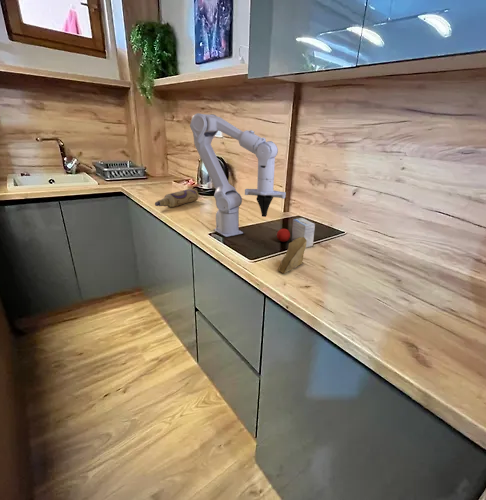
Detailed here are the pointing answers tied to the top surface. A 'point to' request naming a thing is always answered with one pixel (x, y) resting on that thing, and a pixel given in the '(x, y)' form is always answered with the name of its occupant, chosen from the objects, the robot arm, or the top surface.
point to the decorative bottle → (178, 198)
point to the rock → (293, 255)
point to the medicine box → (303, 230)
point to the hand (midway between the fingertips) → (264, 215)
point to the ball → (283, 235)
